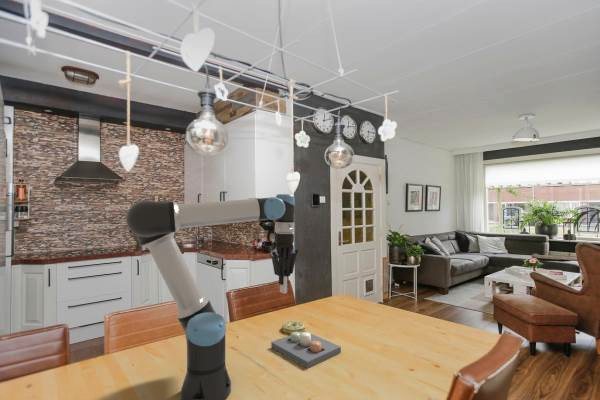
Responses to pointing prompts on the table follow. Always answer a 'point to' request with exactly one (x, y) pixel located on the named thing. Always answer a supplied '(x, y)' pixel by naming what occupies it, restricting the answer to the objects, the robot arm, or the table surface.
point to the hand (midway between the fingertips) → (283, 292)
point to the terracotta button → (315, 347)
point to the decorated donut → (293, 327)
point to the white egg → (305, 339)
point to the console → (305, 350)
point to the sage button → (295, 337)
